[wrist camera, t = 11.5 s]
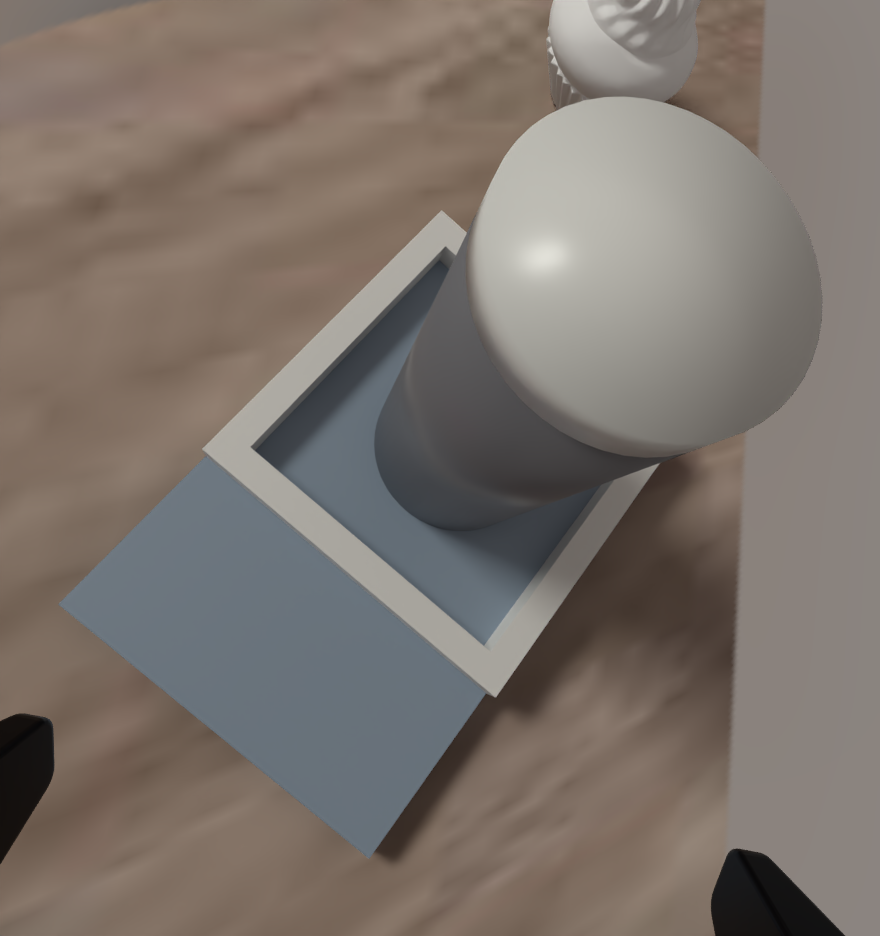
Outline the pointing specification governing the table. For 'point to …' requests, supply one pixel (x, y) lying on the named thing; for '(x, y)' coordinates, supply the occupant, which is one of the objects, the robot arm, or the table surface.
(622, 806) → the table surface
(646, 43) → the muffin
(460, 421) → the grey cup with lid
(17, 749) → the robot arm
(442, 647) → the charging board
